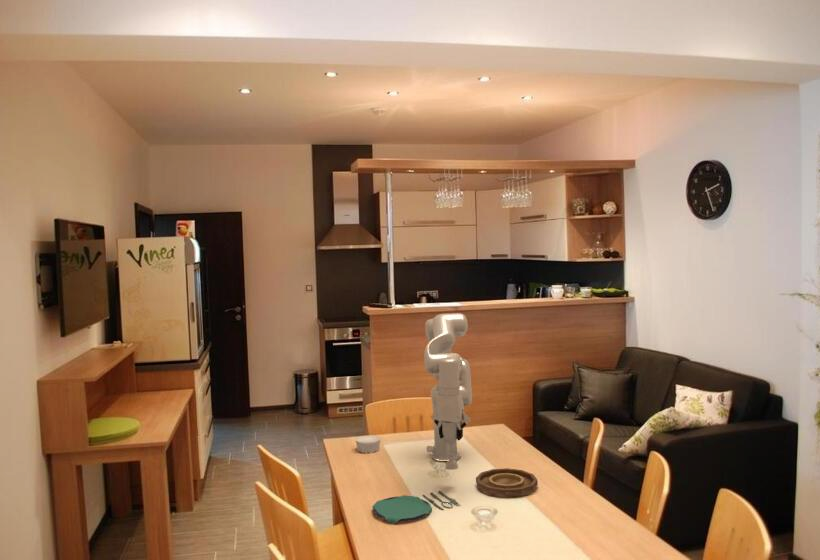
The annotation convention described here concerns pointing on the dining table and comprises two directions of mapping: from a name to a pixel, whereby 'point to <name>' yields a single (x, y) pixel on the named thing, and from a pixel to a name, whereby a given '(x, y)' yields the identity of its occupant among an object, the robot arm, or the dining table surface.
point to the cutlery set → (407, 507)
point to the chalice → (450, 442)
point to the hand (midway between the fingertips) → (450, 437)
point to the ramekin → (368, 443)
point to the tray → (506, 483)
